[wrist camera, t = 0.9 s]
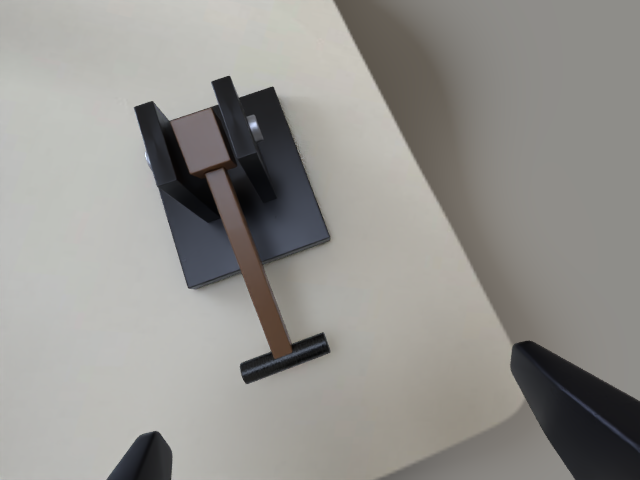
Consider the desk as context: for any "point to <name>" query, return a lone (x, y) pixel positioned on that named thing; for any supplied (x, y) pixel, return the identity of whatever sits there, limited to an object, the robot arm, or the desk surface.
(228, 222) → the lever
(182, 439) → the desk surface
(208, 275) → the bracket
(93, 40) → the desk surface
